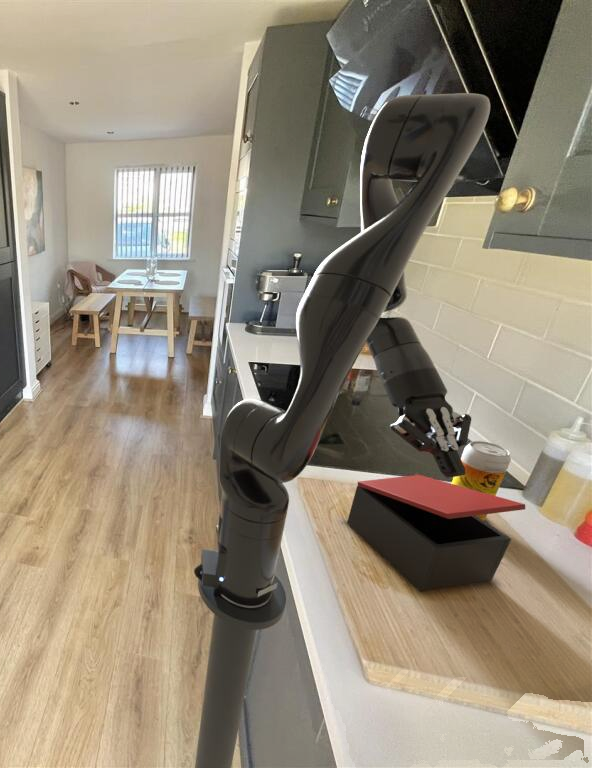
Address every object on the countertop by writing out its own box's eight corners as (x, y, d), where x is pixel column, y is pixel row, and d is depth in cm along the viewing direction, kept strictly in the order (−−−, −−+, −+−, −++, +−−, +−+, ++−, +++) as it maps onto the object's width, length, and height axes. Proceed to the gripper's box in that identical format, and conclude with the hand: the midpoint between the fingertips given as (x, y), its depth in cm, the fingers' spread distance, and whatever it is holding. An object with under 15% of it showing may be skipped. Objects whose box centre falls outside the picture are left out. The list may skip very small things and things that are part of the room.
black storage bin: (491, 581, 63) (511, 538, 60) (420, 591, 62) (436, 548, 59) (405, 516, 78) (418, 478, 75) (346, 523, 77) (356, 485, 73)
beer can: (456, 524, 75) (483, 456, 70) (434, 503, 81) (458, 439, 75) (492, 526, 74) (523, 458, 69) (468, 505, 80) (494, 440, 74)
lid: (525, 509, 58) (525, 504, 58) (448, 519, 57) (448, 513, 57) (419, 478, 74) (419, 474, 74) (357, 485, 73) (357, 481, 73)
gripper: (389, 368, 64) (439, 476, 57) (462, 363, 65) (519, 467, 59) (357, 386, 71) (398, 484, 64) (424, 381, 72) (470, 476, 66)
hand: (455, 476), depth 61 cm, fingers closed
